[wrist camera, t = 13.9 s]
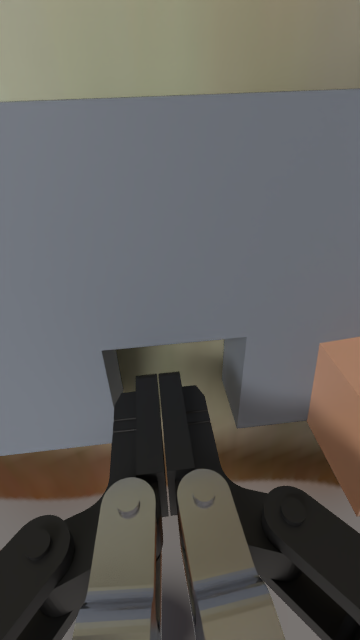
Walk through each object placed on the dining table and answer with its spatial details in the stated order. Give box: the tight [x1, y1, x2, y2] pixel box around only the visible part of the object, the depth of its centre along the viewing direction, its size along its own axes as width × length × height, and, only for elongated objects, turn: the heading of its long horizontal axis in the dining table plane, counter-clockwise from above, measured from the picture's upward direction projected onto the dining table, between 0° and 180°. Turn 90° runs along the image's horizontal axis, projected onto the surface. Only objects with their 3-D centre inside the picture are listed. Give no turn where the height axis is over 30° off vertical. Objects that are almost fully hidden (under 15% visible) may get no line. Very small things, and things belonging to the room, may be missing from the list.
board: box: [0, 89, 360, 456], centre depth 12 cm, size 12×32×5 cm, turn 91°
